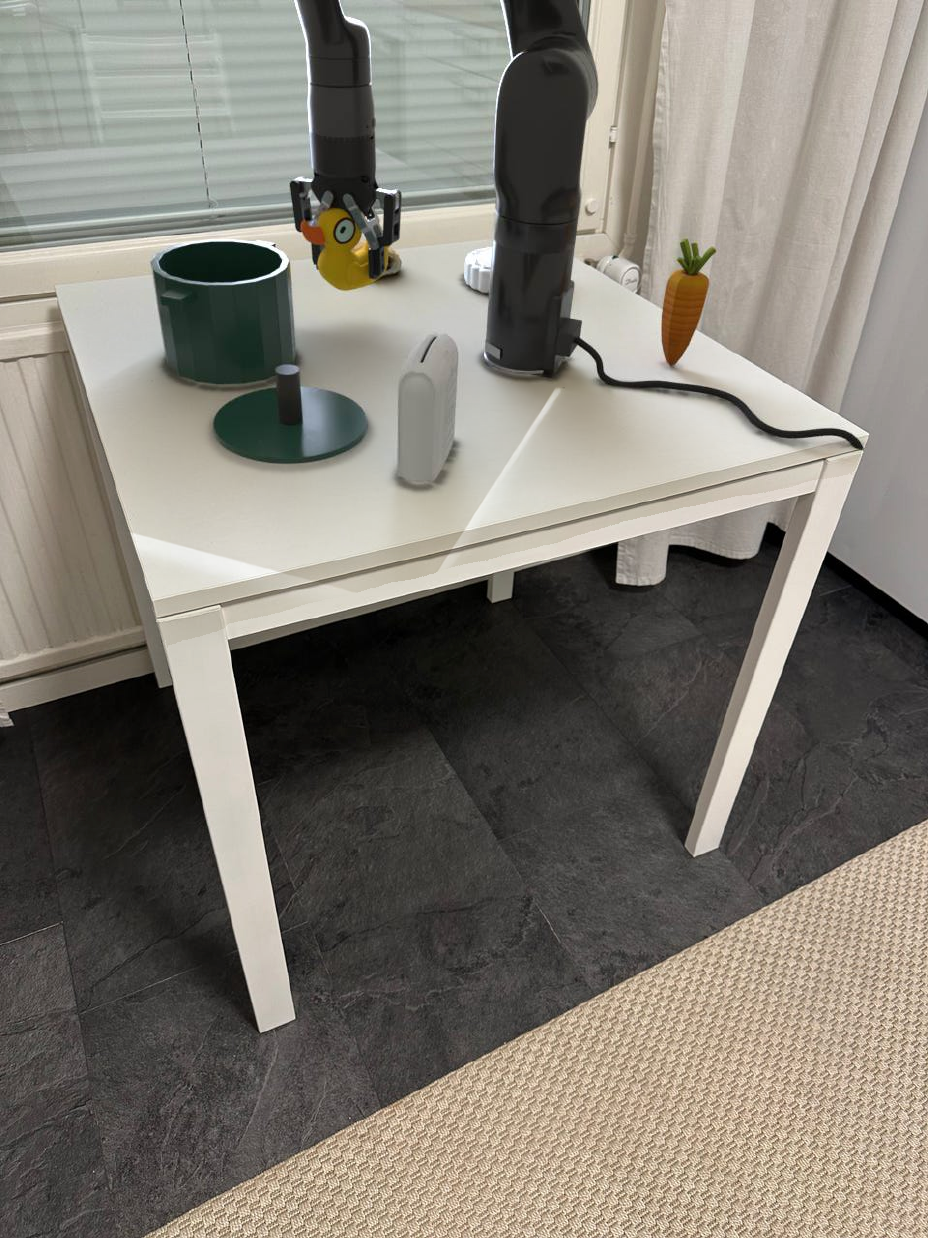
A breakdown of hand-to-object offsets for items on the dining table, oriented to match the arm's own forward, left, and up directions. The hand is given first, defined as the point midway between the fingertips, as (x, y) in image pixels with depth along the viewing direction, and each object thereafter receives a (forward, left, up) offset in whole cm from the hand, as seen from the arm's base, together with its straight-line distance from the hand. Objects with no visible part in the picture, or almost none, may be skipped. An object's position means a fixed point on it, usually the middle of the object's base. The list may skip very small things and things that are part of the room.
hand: (349, 272), depth 116 cm
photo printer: (-22, +31, -6) cm, 38 cm away
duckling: (0, 0, -2) cm, 2 cm away
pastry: (+5, -17, -6) cm, 19 cm away
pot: (+7, +19, -6) cm, 20 cm away
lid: (-7, +31, -5) cm, 32 cm away
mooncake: (-14, -21, -6) cm, 27 cm away
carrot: (-41, -3, -6) cm, 42 cm away
